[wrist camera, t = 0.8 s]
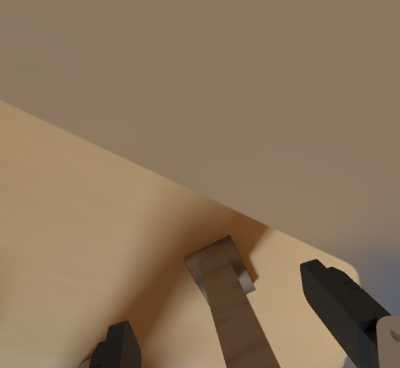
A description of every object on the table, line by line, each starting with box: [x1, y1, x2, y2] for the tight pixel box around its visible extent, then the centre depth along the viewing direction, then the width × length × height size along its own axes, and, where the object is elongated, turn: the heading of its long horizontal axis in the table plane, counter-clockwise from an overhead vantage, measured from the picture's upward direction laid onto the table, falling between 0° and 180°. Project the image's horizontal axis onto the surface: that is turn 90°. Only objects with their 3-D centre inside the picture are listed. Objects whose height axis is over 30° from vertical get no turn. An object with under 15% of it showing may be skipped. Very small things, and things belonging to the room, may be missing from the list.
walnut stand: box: [184, 235, 280, 368], centre depth 36 cm, size 12×9×30 cm
